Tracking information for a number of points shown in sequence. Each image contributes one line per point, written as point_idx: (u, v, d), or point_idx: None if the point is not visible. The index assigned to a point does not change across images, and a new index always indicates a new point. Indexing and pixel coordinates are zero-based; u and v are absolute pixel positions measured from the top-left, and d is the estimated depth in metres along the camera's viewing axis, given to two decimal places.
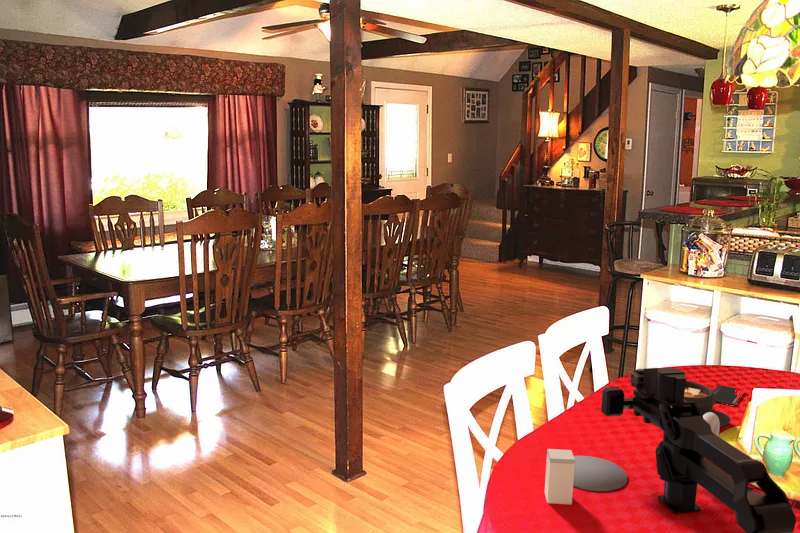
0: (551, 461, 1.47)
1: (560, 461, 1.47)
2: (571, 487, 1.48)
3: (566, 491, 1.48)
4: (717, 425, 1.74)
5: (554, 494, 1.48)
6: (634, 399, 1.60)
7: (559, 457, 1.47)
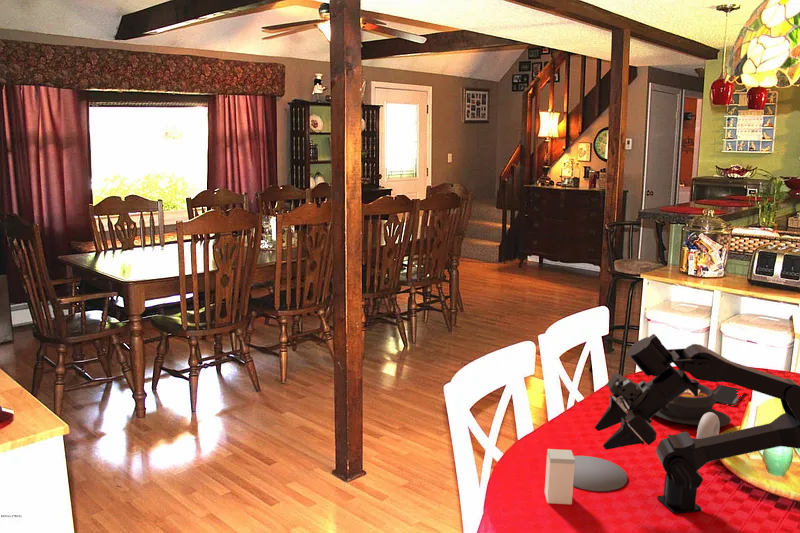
0: (551, 461, 1.47)
1: (560, 461, 1.47)
2: (571, 487, 1.48)
3: (566, 491, 1.48)
4: (717, 425, 1.74)
5: (554, 494, 1.48)
6: (637, 411, 1.44)
7: (559, 457, 1.47)
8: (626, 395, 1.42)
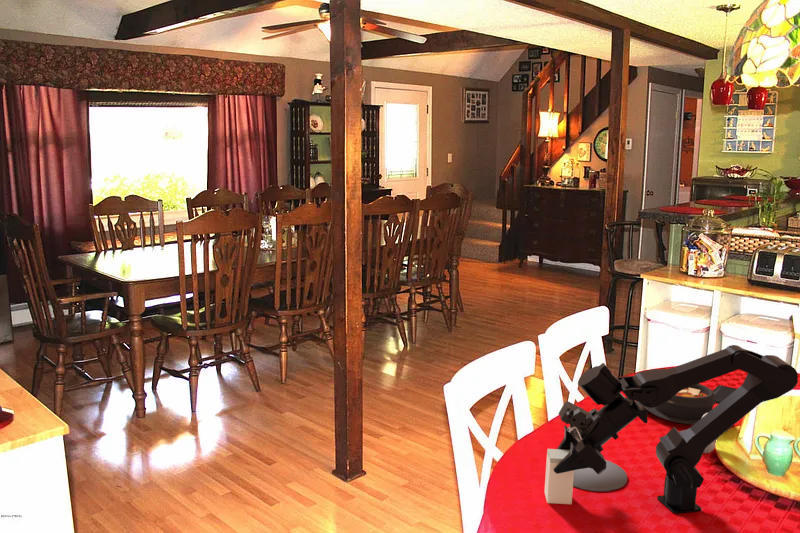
0: (551, 461, 1.47)
1: (560, 461, 1.47)
2: (571, 487, 1.48)
3: (566, 491, 1.48)
4: None
5: (554, 493, 1.48)
6: (588, 439, 1.45)
7: (559, 457, 1.47)
8: (577, 425, 1.43)
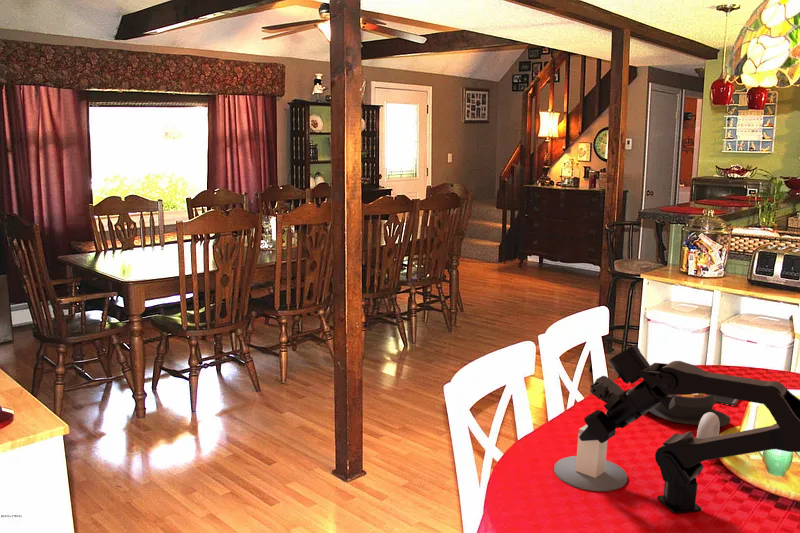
0: (579, 432, 1.60)
1: None
2: (596, 461, 1.58)
3: (591, 464, 1.59)
4: (717, 425, 1.74)
5: (581, 463, 1.60)
6: (611, 413, 1.54)
7: None
8: (596, 395, 1.54)
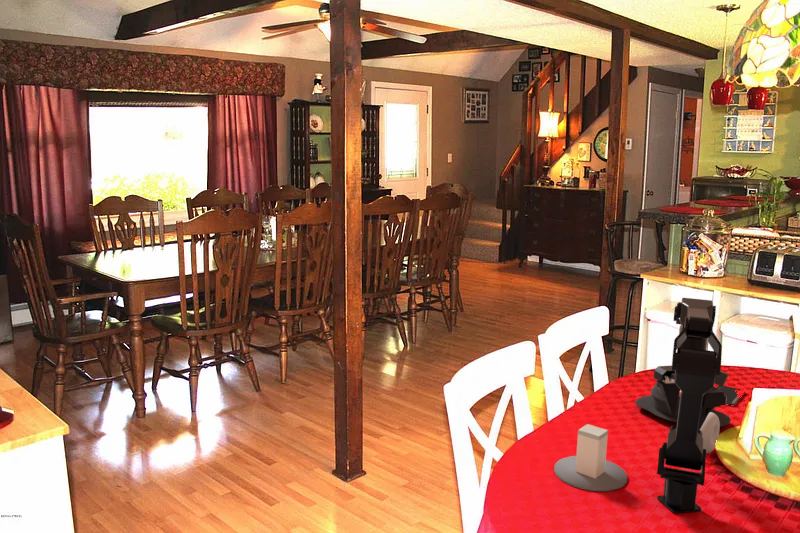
0: (579, 433, 1.60)
1: (586, 434, 1.59)
2: (595, 462, 1.58)
3: (591, 465, 1.59)
4: (717, 425, 1.74)
5: (580, 464, 1.60)
6: None
7: (587, 431, 1.59)
8: None
